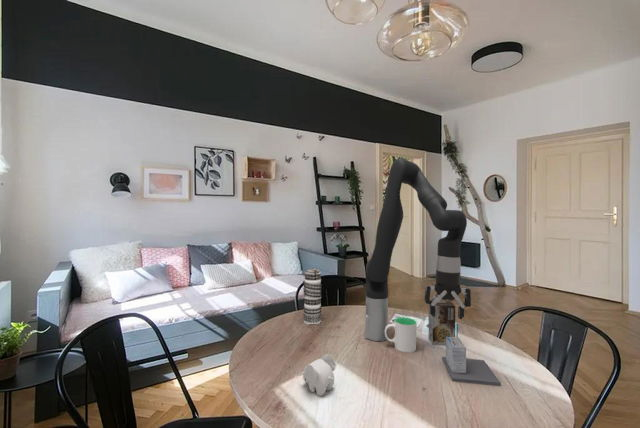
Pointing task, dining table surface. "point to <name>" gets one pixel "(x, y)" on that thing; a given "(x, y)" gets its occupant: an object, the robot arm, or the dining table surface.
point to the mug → (404, 334)
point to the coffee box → (442, 323)
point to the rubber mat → (474, 373)
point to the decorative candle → (312, 296)
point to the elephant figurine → (320, 374)
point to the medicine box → (456, 355)
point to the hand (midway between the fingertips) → (446, 317)
